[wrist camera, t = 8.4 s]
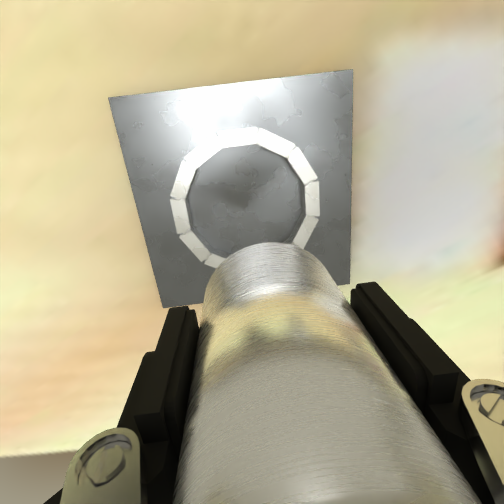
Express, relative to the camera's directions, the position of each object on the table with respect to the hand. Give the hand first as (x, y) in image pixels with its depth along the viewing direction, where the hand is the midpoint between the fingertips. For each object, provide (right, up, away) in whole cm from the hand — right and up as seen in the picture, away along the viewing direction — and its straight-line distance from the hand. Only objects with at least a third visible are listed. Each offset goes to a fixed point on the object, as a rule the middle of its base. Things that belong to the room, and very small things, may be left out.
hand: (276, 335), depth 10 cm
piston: (0, +1, +2) cm, 2 cm away
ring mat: (-1, +7, +18) cm, 19 cm away
